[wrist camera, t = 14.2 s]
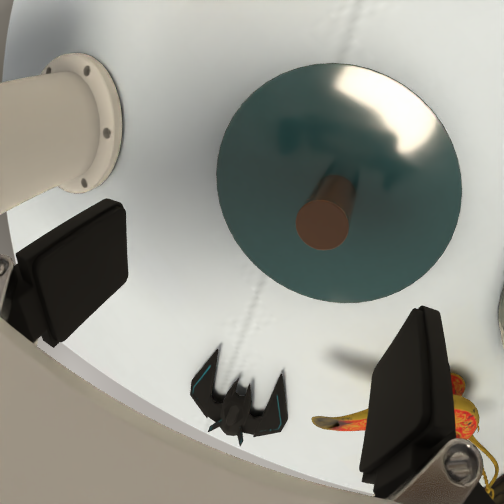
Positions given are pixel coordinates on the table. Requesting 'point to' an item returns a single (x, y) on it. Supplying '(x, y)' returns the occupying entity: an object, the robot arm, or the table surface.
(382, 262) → the lid
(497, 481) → the diary
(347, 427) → the magic lamp
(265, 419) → the angular spaceship
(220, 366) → the table surface
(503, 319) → the tin
